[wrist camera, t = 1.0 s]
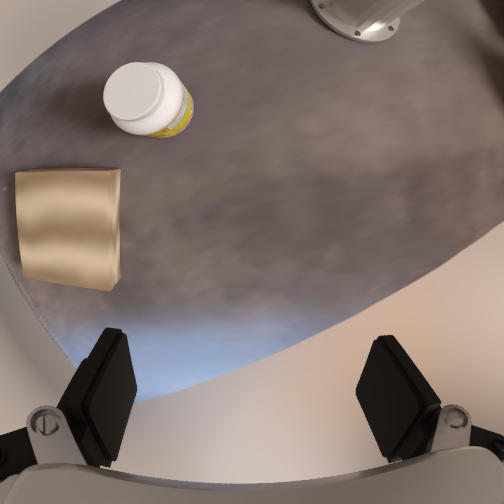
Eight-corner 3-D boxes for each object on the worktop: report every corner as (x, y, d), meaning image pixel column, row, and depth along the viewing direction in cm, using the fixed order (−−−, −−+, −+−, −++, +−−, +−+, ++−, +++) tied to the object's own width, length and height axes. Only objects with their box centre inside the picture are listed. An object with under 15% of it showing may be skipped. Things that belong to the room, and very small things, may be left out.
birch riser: (32, 169, 30) (15, 172, 26) (120, 168, 32) (107, 171, 28) (38, 266, 35) (24, 277, 31) (120, 277, 36) (110, 291, 32)
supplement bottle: (128, 121, 30) (76, 109, 18) (159, 74, 28) (123, 38, 16) (173, 149, 32) (140, 148, 19) (206, 101, 30) (191, 72, 18)
